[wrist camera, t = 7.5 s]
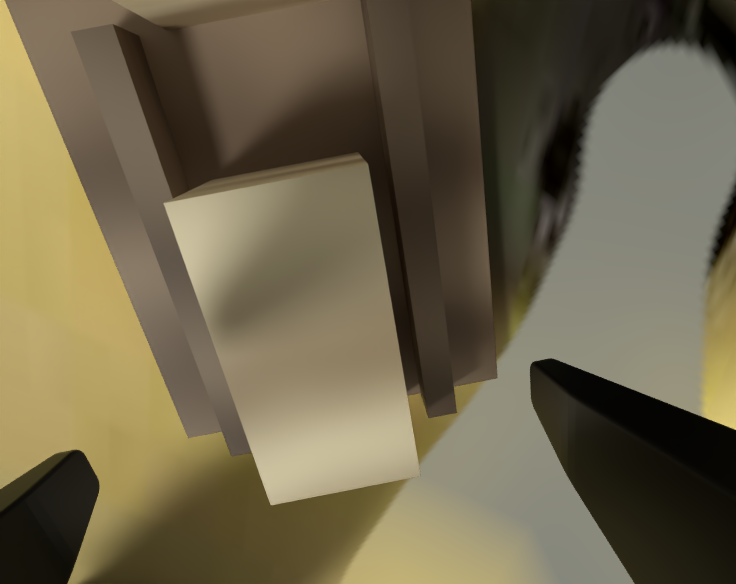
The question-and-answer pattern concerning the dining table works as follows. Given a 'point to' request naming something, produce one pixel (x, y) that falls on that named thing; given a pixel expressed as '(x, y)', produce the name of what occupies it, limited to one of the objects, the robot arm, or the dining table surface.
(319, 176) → the beige rectangular block
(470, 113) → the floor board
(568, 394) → the robot arm
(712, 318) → the dining table surface
